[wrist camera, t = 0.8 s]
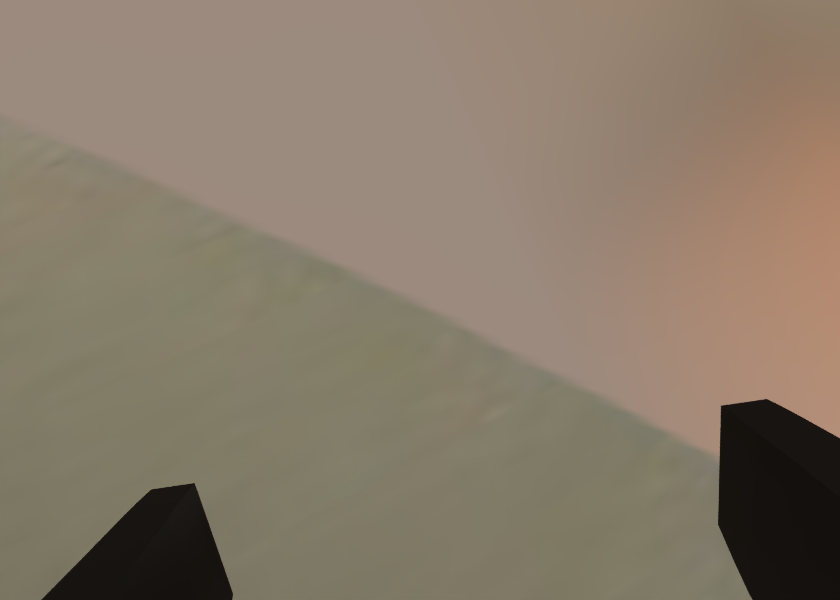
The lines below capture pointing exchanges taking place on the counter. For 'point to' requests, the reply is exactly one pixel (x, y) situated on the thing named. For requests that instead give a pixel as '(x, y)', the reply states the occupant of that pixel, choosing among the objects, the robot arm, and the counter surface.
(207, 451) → the counter surface
